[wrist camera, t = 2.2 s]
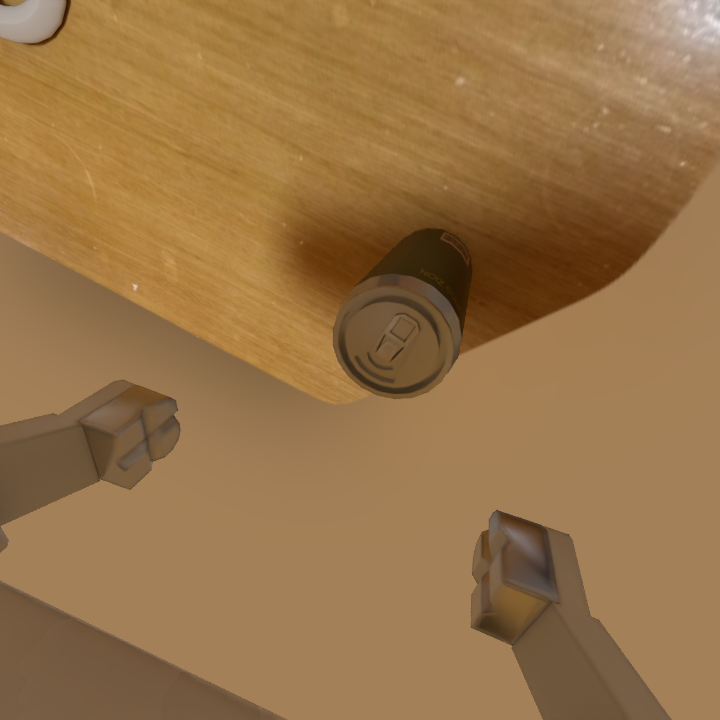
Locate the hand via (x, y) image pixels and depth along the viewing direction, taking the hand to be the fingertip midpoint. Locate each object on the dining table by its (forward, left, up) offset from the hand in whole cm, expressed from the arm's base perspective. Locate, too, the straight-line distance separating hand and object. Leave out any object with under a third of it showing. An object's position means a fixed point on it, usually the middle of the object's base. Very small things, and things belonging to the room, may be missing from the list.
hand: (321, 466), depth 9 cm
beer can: (0, 0, -19) cm, 19 cm away
